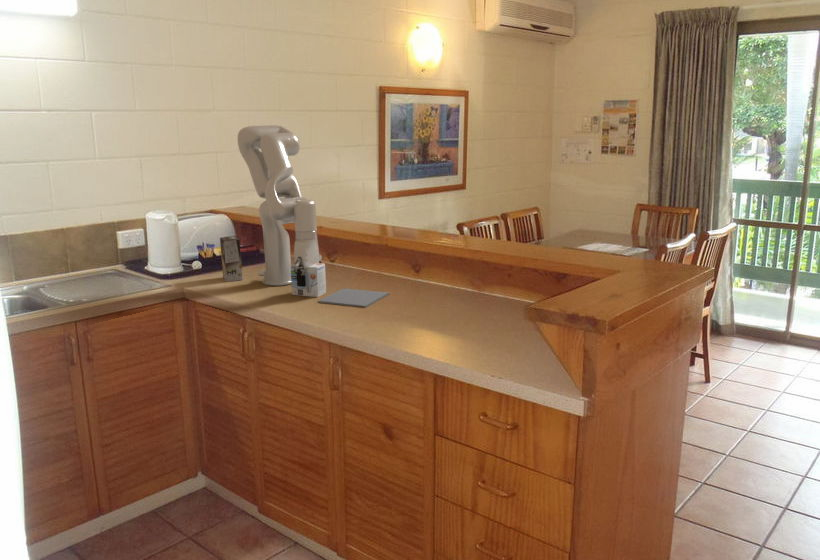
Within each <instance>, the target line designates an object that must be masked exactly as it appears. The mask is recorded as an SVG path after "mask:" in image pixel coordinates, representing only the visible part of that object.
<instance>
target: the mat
mask: <svg viewBox="0 0 820 560" xmlns="http://www.w3.org/2000/svg"><path fill="white" fill-rule="evenodd" d="M387 296H389V292H387V291H386V292H385V291H377V290H374V291H373V290H365V289H364V290H363V289H362V290H361V289H354V288H353V289H352V288H341V289H339V290H338V291H336V292H334V293H331V294H328V295H327V296H326V297H322V298H321V299H318V300H317V302H318V303H320V304H321V303H322V304H328V305H330V304H331V305H339V306H346V307H347V306H348V307H356V308H365V309H366V308H367V307H369V306H371V305H373V304H375V303H376V302H378V301H379V300H381V299H383V298H384V297H387Z"/></svg>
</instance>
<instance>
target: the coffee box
mask: <svg viewBox="0 0 820 560" xmlns="http://www.w3.org/2000/svg"><path fill="white" fill-rule="evenodd" d="M219 244H220V255H221V265H222V277H223V279H224V280H225V281H226V282H234V281H242V280H243V279H244V277H243V268H242V267H243V266H242V252H241V240H240V238H238V237H237V236H236V235H233V236H232V235H231V236H223V237H219Z"/></svg>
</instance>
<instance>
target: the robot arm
mask: <svg viewBox="0 0 820 560" xmlns="http://www.w3.org/2000/svg"><path fill="white" fill-rule="evenodd" d="M237 147H238V150H239V153H240V155H241V157H242V158H243V160H244V162H245V164H246V165H247V168H248V170H249V174H250V177H251V179H252V184H253V185H254V189H255V191H256V194H257V196H258V197H259V198H261V199H265V200H264V201H263V202H262V203H260V205H259V207H258V214H259V218H260V222H261V227H262V234H263V235H262V236H263V246H264V247H263V248H264V249H263V250H264V260H265V261H264V263H265V269H260V270H259V272H258V276H260V277H263V278H262V284H263V285H265V286H271V287H273V286H274V287H276V286H279V287H280V286H287V285H291V266H292V265H293V268H294V272H295V274H296V275H297V286H301V287H305V286H306V281H305V275H304V273H305V270H306V269H308V267H310V266H312V265H314V264H316V263H322V257H323V256H322V255H321V254H320V251H319V249H320V248H319V241H318V229H317V228H318V227H317V204H316V202H315V201H314V200H312V199H307V198H306V197H303V195H302V192H301V189H300V186H299V183H298V180H297V178H296V177H295V175H293V172H294V168H293V165H292V162H291V160H290V157H291V156H292V157H293V156H297V155H298V153H300V152H299V151H300V148H301V146H300V142H299V138H298V137H297V136H296V134H294V132H292V131H291V130H289V129H287V128H285V127H283V126H281V125H276V124H275V125H274V124H273V125H249V126H245V127H243V128H241V129H240V130H239V131H238V133H237ZM292 223H294V232H295V233H294V234H295V236H294V237H295V241H294V246H293V248H294V249H293V264H292V262H291V261H292V260H291V243H290V235H289V232H288V231H287V230H286V228H285V226H283V225H287V224H292ZM301 266H304V267H301ZM300 269H302V272H301V270H300Z"/></svg>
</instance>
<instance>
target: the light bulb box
mask: <svg viewBox="0 0 820 560" xmlns="http://www.w3.org/2000/svg"><path fill="white" fill-rule="evenodd" d="M301 267H304V266H301ZM300 270H301V272H302V269H300ZM304 275H305V281H306V286H305V287H301V286H297V275H296V274H295V272H294V268H293V264H291V284H290V285H291V295H292V296H302V297H312V298H313V297H314V298H319V297H321V296H323V295H324V294H326V293H327V279H326V277H327V276H326V275H327V274H326V264H325V263H324V262H321V263H316V264H314V265H312V266H310V267H308V269H306V270H305V273H304Z"/></svg>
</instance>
